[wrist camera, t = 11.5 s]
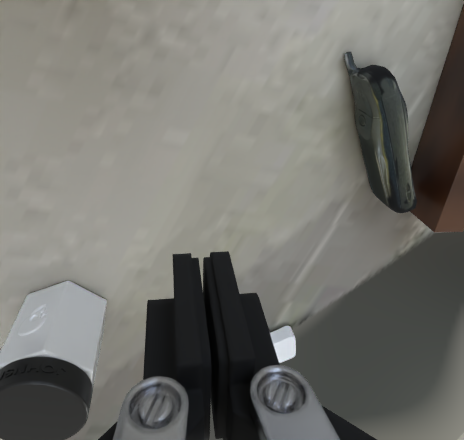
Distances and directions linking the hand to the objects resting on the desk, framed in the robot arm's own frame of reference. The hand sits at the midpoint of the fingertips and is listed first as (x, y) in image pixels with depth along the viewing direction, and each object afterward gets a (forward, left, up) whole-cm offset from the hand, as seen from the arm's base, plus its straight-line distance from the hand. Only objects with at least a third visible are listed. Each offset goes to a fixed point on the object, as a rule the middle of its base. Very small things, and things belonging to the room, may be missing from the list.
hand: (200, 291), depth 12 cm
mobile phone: (+1, +18, -24) cm, 30 cm away
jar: (+22, -12, -24) cm, 35 cm away
